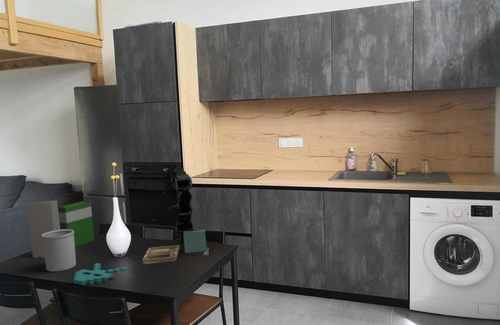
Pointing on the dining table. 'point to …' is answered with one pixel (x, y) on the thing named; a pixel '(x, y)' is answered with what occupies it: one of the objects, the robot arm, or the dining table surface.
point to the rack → (173, 250)
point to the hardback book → (77, 221)
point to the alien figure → (94, 275)
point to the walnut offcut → (158, 256)
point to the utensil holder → (59, 249)
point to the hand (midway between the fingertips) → (186, 228)
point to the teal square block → (195, 241)
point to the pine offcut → (161, 252)
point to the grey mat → (206, 252)
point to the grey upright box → (41, 223)
